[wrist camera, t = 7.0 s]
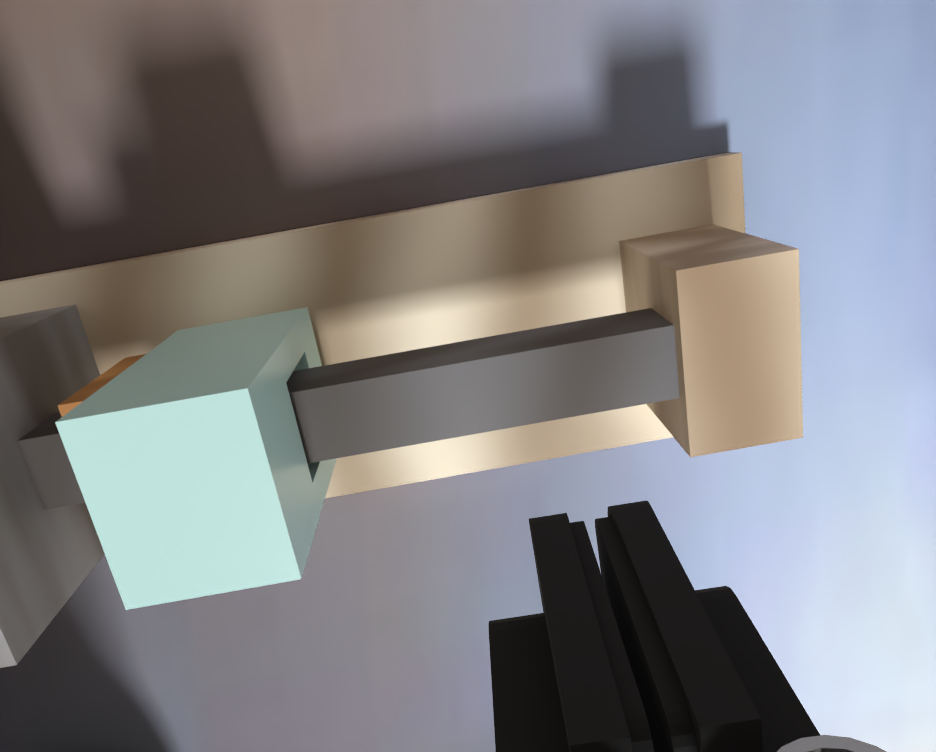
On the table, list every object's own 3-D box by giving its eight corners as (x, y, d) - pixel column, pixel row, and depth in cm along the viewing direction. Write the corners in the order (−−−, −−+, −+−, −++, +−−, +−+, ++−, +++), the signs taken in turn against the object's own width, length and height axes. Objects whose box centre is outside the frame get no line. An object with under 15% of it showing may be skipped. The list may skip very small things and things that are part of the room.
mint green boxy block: (307, 307, 22) (247, 388, 15) (340, 444, 23) (301, 578, 16) (178, 330, 22) (55, 421, 15) (219, 465, 23) (126, 609, 16)
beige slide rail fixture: (728, 152, 23) (907, 158, 14) (742, 412, 26) (897, 547, 17) (-74, 294, 23) (-373, 384, 14) (26, 538, 26) (-174, 734, 17)
